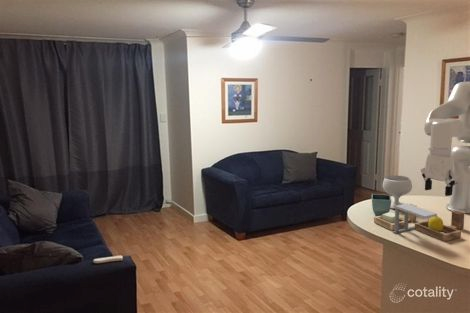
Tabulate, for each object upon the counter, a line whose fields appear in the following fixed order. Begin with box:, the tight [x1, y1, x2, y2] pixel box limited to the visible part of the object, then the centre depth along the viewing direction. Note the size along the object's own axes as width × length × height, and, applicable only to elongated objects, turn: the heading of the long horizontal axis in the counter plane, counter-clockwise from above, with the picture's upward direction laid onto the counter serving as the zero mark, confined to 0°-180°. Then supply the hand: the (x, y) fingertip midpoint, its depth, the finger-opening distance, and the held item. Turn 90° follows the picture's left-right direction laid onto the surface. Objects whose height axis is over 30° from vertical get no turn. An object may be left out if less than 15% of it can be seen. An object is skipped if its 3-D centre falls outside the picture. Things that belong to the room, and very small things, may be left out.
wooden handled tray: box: [414, 211, 466, 242], centre depth 162 cm, size 18×15×7 cm
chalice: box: [382, 174, 413, 210], centre depth 195 cm, size 14×14×15 cm
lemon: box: [428, 215, 444, 233], centre depth 159 cm, size 6×6×8 cm
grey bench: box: [392, 203, 438, 235], centre depth 159 cm, size 22×15×12 cm
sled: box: [373, 203, 418, 231], centre depth 173 cm, size 18×11×7 cm, turn 112°
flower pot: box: [371, 193, 392, 217], centre depth 185 cm, size 9×9×9 cm
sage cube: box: [382, 211, 395, 224], centre depth 172 cm, size 5×5×5 cm
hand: (438, 192), depth 157 cm, fingers open, 9 cm apart
